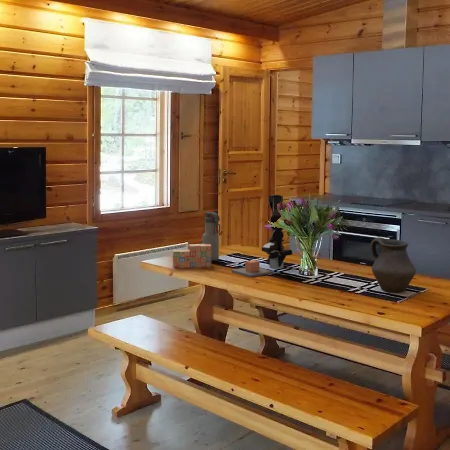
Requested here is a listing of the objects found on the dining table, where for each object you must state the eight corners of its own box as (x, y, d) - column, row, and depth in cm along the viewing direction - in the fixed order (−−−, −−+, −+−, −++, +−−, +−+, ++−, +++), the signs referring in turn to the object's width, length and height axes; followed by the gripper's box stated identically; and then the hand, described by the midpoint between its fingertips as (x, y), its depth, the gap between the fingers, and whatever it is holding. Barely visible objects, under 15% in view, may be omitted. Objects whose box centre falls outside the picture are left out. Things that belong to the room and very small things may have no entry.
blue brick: (277, 266, 351) (277, 257, 350) (283, 267, 347) (283, 258, 346) (269, 267, 347) (269, 258, 346) (275, 269, 343) (275, 260, 343)
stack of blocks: (173, 268, 356) (173, 246, 354) (172, 265, 362) (172, 244, 360) (211, 267, 359) (211, 245, 358) (210, 264, 365) (210, 243, 364)
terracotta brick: (253, 269, 348) (254, 260, 347) (259, 270, 345) (259, 261, 344) (245, 270, 344) (245, 261, 344) (250, 271, 341) (250, 262, 340)
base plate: (254, 268, 356) (254, 266, 356) (273, 273, 343) (273, 271, 343) (231, 272, 346) (231, 269, 346) (250, 277, 334) (250, 275, 333)
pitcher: (407, 297, 294) (409, 244, 291) (361, 291, 306) (363, 239, 302) (419, 288, 311) (422, 238, 308) (376, 282, 323) (378, 234, 319)
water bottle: (222, 258, 382) (222, 212, 378) (213, 261, 374) (213, 214, 370) (208, 257, 388) (208, 211, 384) (199, 259, 379) (199, 212, 375)
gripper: (254, 236, 347) (254, 265, 349) (277, 241, 332) (277, 270, 335) (269, 234, 354) (269, 262, 356) (293, 239, 339) (292, 268, 341)
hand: (276, 266), depth 347 cm, fingers closed on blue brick, 4 cm apart
